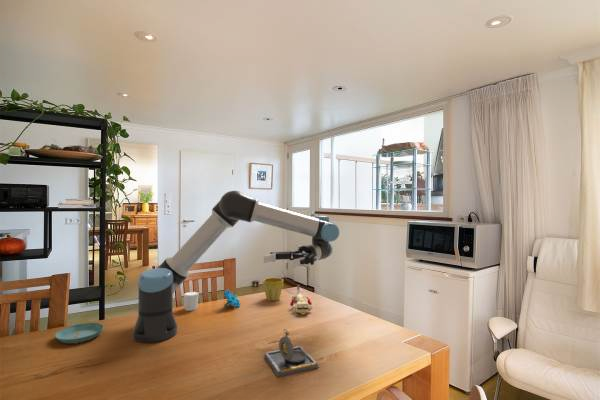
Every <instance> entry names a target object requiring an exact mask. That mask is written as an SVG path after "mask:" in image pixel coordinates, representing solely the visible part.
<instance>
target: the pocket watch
mask: <svg viewBox="0 0 600 400" xmlns="http://www.w3.org/2000/svg"><path fill="white" fill-rule="evenodd" d="M283 332H284V335H285V336H284V335H283V336H282V337H280V339H279V343H278V350H280V353H281V355H282V357H283V358H284V359H286V360H287V361H289V362H301V361H303V360H305V358H306V355H305V353H304V352H301V351H294V350H293V347H294V346H293V343H292V341H291V339H290V337H288V336H289V335H290V333H289V331H288V330H287V329H285V328H284V329H283ZM286 352H287V353H286Z"/></svg>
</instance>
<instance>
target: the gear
mask: <svg viewBox="0 0 600 400" xmlns="http://www.w3.org/2000/svg"><path fill="white" fill-rule="evenodd" d="M223 294H224V298H226V303H224V304H223V306H224V307H227V306H228V305H229V304H230V305H231V306H233V307H234V308H240V306H241V303H240V300H239V298H238V295H237V294H234V292H231V290H228V289H225V290H224V292H223Z"/></svg>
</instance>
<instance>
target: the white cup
mask: <svg viewBox="0 0 600 400" xmlns="http://www.w3.org/2000/svg"><path fill="white" fill-rule="evenodd" d="M199 294H200V292H198V291H187V292H185V293H183V305H184V306H183V307H184V311H190V312H191V311H192V312H193V311H196V310H197V309H198V304H199Z"/></svg>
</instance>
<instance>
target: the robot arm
mask: <svg viewBox="0 0 600 400" xmlns="http://www.w3.org/2000/svg"><path fill="white" fill-rule="evenodd" d="M239 221H242V222H247V223H252V222H256V223H261V224H265V225H267V226H272V227H274V228H275V227H277V228H279V229H284V230H287V231H290V232H293V233H298V234H302V235H306V236H308V237H311V243H309V244H306V245H301V246H299V248H298V249H297V250H293V251H292V250H286V251H277V252H272V251H271V252H269V254H265V255H263V263H264V264H266V263H267V264H268V263H273V262H274V263H275V261H277V260H290V261H292V262H293V263H292V265H293V268H298V267H301V266H305V265H307V266H308V265H309V264H310V265H311V266H313V265H314V264H315V262H317V261H320V260H325V259H327V258H329V257H330V256H331V255H332V253H333V246H332V244H331V243H332V242H335V241H336V240H337V239H338V238H339V236H340V229H339V227H338V225H336V224H335V223H334V222H330V218H329V216H328V215H314V216H312V217H311V216H308V215H305V214H302V213H297V212H294V211H290V210H287V209H283V208H279V207H277V206H273V205H270V204H267V203H266V204H265V203H262V202H260V201H259V200H258V199H257V198H254V197H251V196H248V195H247V194H244V193H243V192H241V191H238V190H229V191H227V192H225V193H224V194H223V195H222V196H221V198H220V200H219V201H218V202H217V203H216V204H215V205H214V207H212V208H211V215H210V216H209V217H208V218H207V219H206V220H205V221H204V222H203V223H202V225H200V227H199V228H198V229H197V230H196V231H195V233H193V234H192V235H191V237H190V238H189V239H188V240H187V241H185V243H184V244H183V246H181V247H180V249H178V251H176V252H175V254H174V255H173V256H172V257H167V258H165V259H164V260H163V261H162V263H161V264H160V265H159V266H158V267H157V268H151V269H148V270H145V271H143V272H142V273H140V274H139V276H138V282H137V284H138V285H137V286H138V303H137V304H138V305H137V306H138V307H137V309H138V311H137V312H138V313H137V315H138V316H137V319H136V321H135V323H134V327H133V329H132V340H133V341H135V342H138V343H144V344H148V343H149V344H151V343H158V342H162V341H165V340H170V339H171V338H173V337H174V336H176V334H177V333H178V324H177V320H176V318H175V316H174V311H173V298H174V293H175V292H176V290H177V289H178V288H179V287H180V286H181V285H182V283H184V282H185V280H186V279H187V278H188V277H189V275H190V274H189V271H190V269H191V268H192V267H194V265H195V264H196V263H197V262H198V261H199V259H200V258H202V256H203V255H204V254H205V253H206V252H207V251H208V250H209V248H211V246H212V245H213V244H214V243H215V242H216V241H217V239H219V238H220V236H221V235H222V234H223V233H224V232H225V231H226V230H227V229H228V228H234V227H235V225H236V224H237V223H238V222H239Z"/></svg>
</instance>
